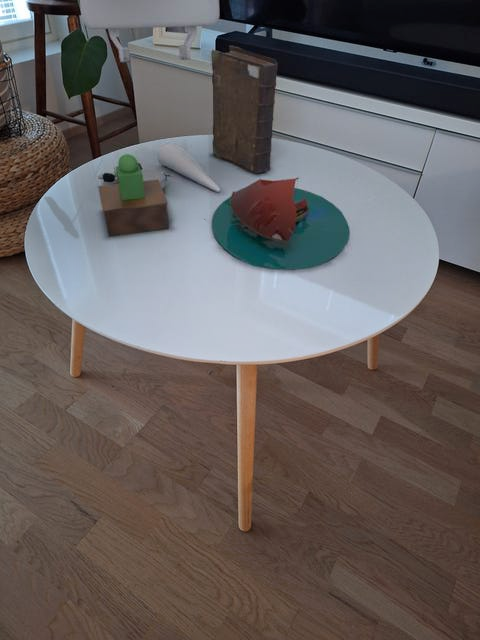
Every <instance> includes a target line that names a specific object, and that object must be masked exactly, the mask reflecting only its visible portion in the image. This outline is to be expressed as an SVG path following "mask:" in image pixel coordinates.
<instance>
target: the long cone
mask: <svg viewBox="0 0 480 640" xmlns="http://www.w3.org/2000/svg"><path fill="white" fill-rule="evenodd" d="M156 157H157V161H158V163H159V164H161V165H162V166H164V167H166V168H168V169H170V170H172V171H174V172H176V173H178V174H180V175H182V176H184V177H186V178H188V179H190V180H191V181H194V182H196V183H198V184H200V185H201V186H202V187H203V186H204V187H205V188H208V189H209V190H212V191H213V192H216V193H220V192H221V187H219V185H218V184H217V183H216V182H215V181H214V180H213V179H212V178H210V176H209V175H208V174H207V173H206V172H205V170H204V169H203V168H202V167H201V166H200V165H199V164H198V163H197V162H196V161H195V160H194V159H193V158H192V157H191V155H189V154H188V153H187V151H185V150H184V148H182V147H181V146H178V144H176V143H173V142H167V143H165V144H163V145H162V146H160V148H159V149H158V151H157V155H156Z"/></svg>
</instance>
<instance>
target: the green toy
mask: <svg viewBox="0 0 480 640" xmlns="http://www.w3.org/2000/svg"><path fill="white" fill-rule="evenodd" d="M138 163H139V162H138V160H137V158H136V157H135V156H134V155H132V154H130V153H125V154H123V155H121V156H120V157H119V159H118V165H117V166H115V167H116V171H117V177H118V182H117V184H119V190H120V194H121V198H122V200H131V199H139V198H145V192H144V184H143V175H142V172H141V169H140V166H139V164H138Z"/></svg>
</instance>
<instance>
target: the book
mask: <svg viewBox="0 0 480 640" xmlns="http://www.w3.org/2000/svg"><path fill="white" fill-rule="evenodd" d="M210 53H211V71H212V76H211V83H212V119H213V120H212V135H213V136H212V137H213V138H212V155H213V156H215V157H217V158H218V159H221V160H224V161H227V162H229V163H231V164H233V165H236V166H238V167H240V168H242V169H244V170H245V171H246V172H247V171H248V172H249V173H251V174H259V173H264V172H267V171H269V170H271V155H272V154H271V153H272V139H273V123H274V120H275V119H274V111H275V109H274V108H275V103H276V101H275V98H276V97H275V96H276V86H277V76H278V74H277V73H278V64H279V63H278V62H277V60H276V59H275V58H273V57H268V56H265V55H262V54H258V53H255V52H252V51H249V50H245V49H243V48H241V47H239V46H234V45H229V47H228V52H222V51H218V50H215V49H211V52H210Z"/></svg>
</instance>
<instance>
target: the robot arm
mask: <svg viewBox="0 0 480 640" xmlns="http://www.w3.org/2000/svg"><path fill="white" fill-rule="evenodd" d="M79 6H80V7H79V8H80V15H81V21H82V23H83V24H84V26H85V27H86V28H88V29H89V30H107V31H108V36H109V38H110V40H111V41H112V43H113V44H114V46H115V47H116V48H117V50H118V58H119V61H120V62H119V63H131V57H130V55H131V54H130V49H129V47H128V46H122V44H121V43H120V40H119V39H118V38H120V29H147V28H150V29H152V28H154V29H155V28H180V27H181V28H183V27H184V32H185V33H186V34H187V35H186V37H185V40H184V42H183V44H178V51H179V52H178V56H179V59H180V60H183V61H184V60H185V61H186V60H191V48H192V46H193V44H194V41H195V39H196V37H197V35H198V34H197V33H198V32H197V31H198V30H197V27H213V26H216V24H217V23H218V21H219V20H220V0H79Z"/></svg>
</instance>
